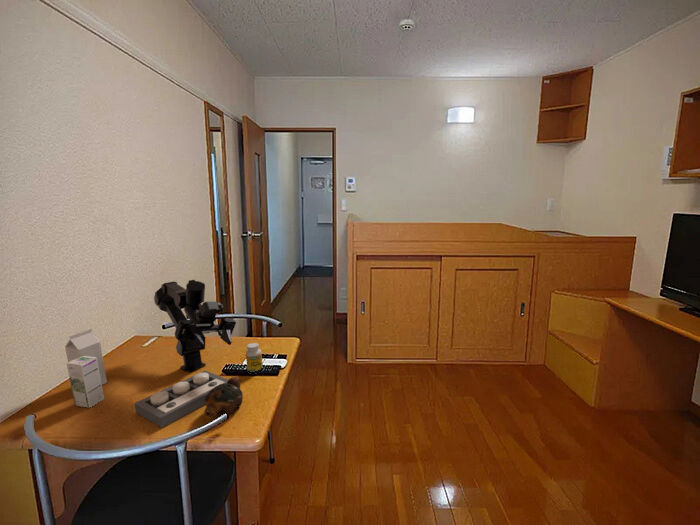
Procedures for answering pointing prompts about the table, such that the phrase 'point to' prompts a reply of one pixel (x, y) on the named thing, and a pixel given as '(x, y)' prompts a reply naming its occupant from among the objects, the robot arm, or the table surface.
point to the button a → (159, 398)
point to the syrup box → (85, 381)
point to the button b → (181, 388)
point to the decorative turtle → (224, 397)
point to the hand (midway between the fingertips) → (217, 344)
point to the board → (178, 402)
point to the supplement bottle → (253, 357)
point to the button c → (201, 379)
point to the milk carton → (86, 349)
